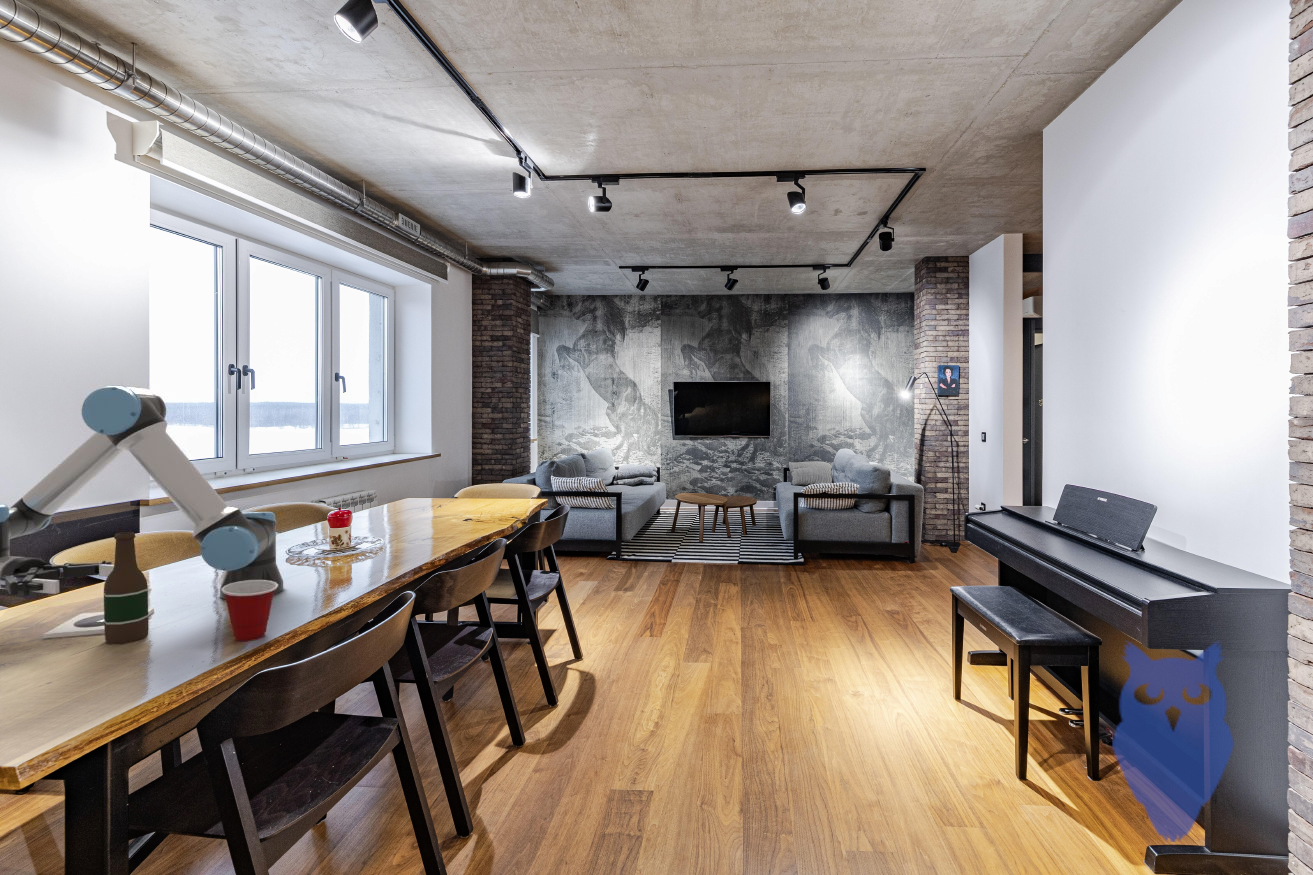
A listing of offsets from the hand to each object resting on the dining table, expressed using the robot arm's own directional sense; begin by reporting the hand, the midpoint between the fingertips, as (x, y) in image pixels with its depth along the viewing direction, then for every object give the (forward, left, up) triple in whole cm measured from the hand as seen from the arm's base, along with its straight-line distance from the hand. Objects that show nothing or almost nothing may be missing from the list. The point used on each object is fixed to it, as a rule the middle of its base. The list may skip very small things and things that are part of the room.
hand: (91, 578), depth 141 cm
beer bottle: (-8, +5, -13) cm, 16 cm away
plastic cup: (-34, +12, -13) cm, 38 cm away
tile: (+2, -8, -13) cm, 16 cm away
